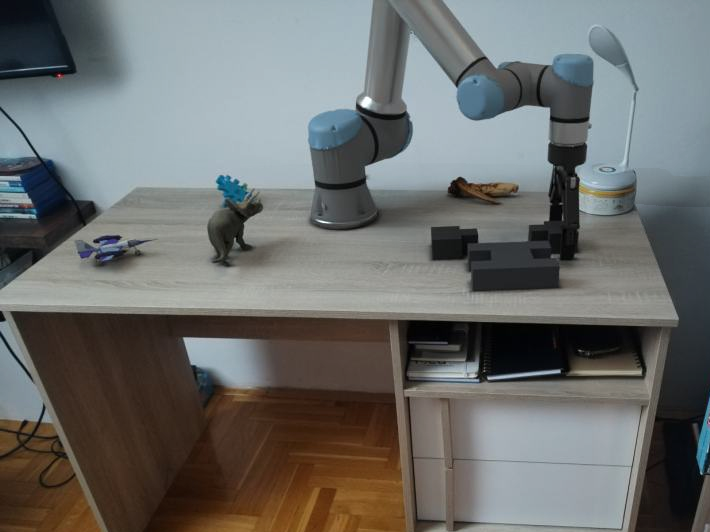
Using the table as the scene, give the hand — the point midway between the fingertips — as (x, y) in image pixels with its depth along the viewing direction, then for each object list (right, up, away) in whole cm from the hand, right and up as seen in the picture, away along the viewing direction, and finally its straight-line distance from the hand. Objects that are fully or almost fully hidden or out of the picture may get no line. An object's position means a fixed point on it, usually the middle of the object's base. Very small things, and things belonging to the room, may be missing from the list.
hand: (560, 245), depth 137 cm
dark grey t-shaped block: (-22, -2, -2) cm, 22 cm away
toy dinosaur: (-69, -3, -2) cm, 69 cm away
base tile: (-11, -8, -11) cm, 18 cm away
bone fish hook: (-16, +16, +26) cm, 34 cm away
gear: (-76, +13, +24) cm, 81 cm away
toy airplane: (-92, -3, -3) cm, 92 cm away
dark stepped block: (-2, 0, 0) cm, 2 cm away
